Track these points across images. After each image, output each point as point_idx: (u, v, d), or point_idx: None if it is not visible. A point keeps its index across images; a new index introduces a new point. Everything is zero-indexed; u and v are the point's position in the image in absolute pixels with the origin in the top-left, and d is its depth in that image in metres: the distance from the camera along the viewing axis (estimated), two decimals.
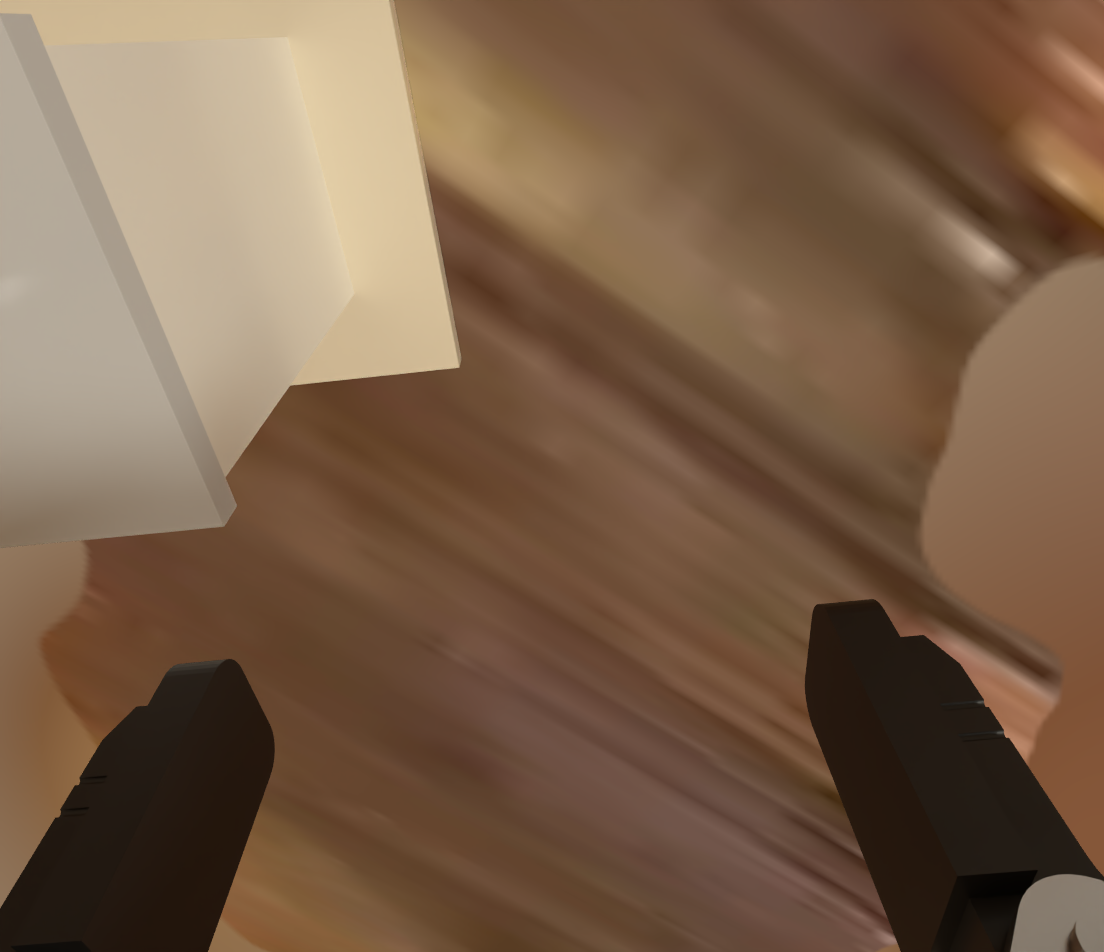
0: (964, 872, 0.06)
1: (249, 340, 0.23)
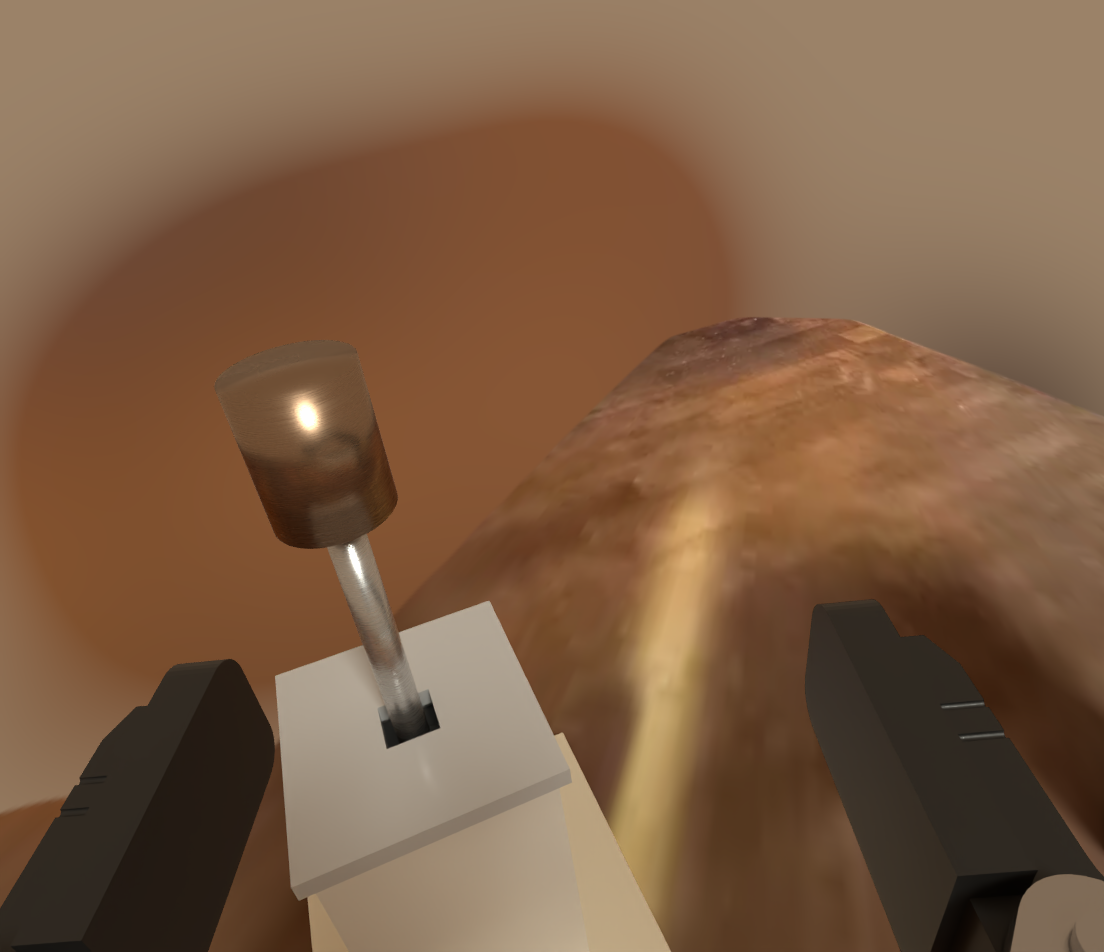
0: (964, 872, 0.06)
1: (400, 920, 0.33)
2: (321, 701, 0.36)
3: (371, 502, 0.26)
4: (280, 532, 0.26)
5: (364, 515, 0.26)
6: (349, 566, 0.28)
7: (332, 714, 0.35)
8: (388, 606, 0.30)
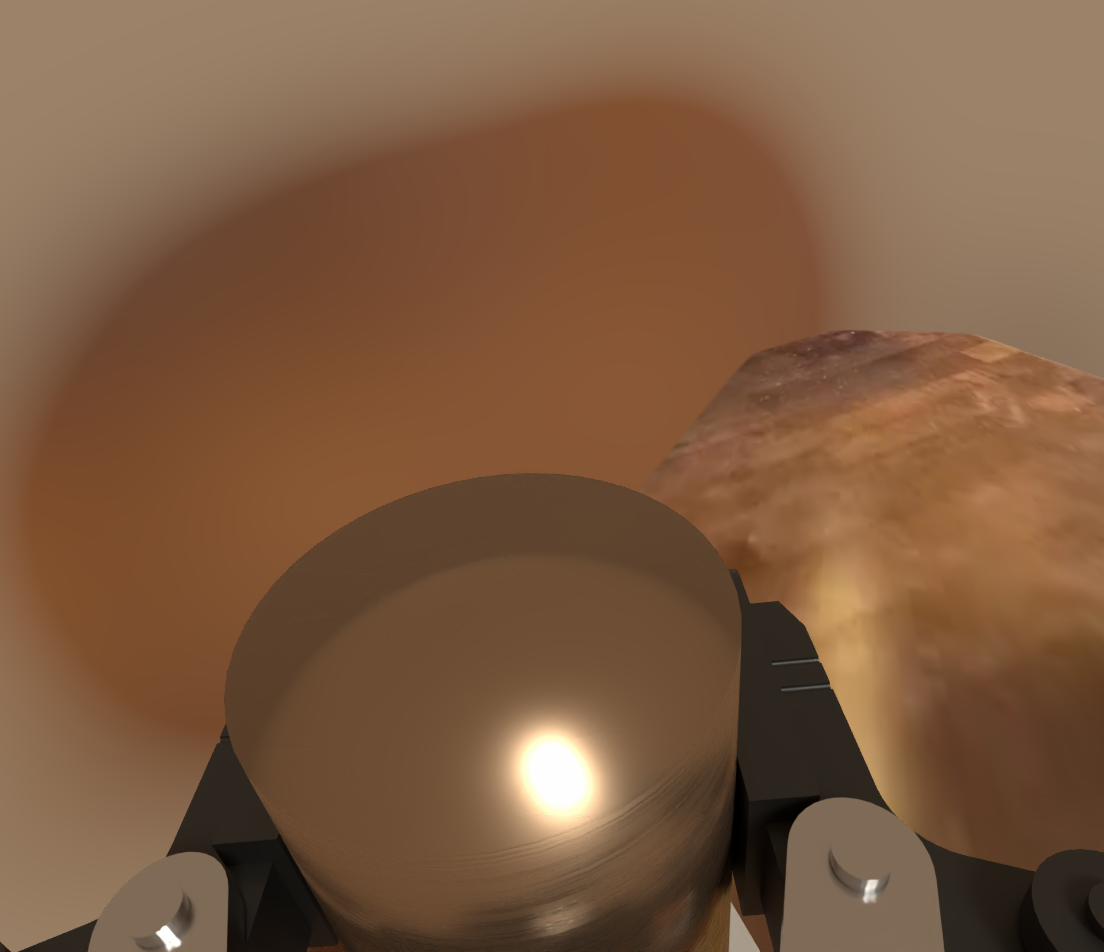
0: (757, 798, 0.07)
1: None
2: None
3: None
4: None
5: None
6: None
7: None
8: None
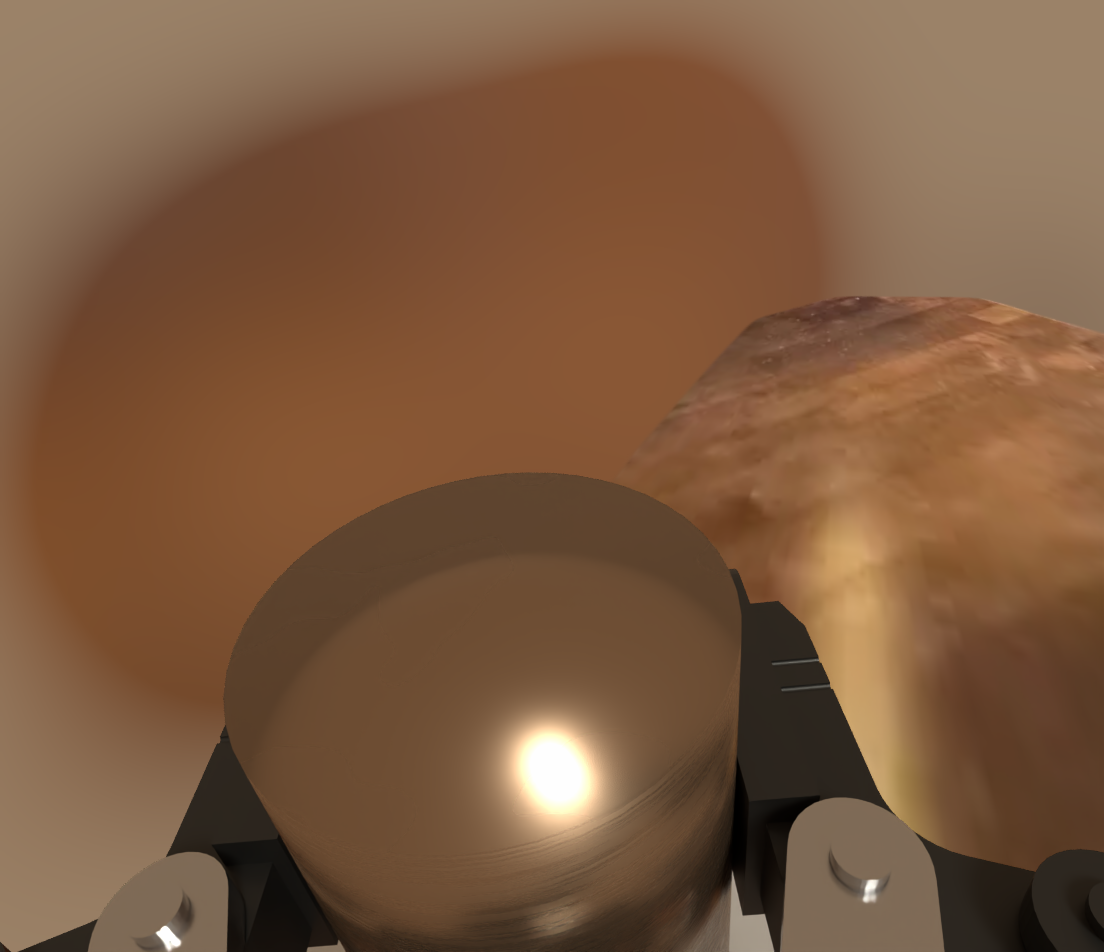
0: (757, 798, 0.07)
1: None
2: None
3: None
4: None
5: None
6: None
7: None
8: None
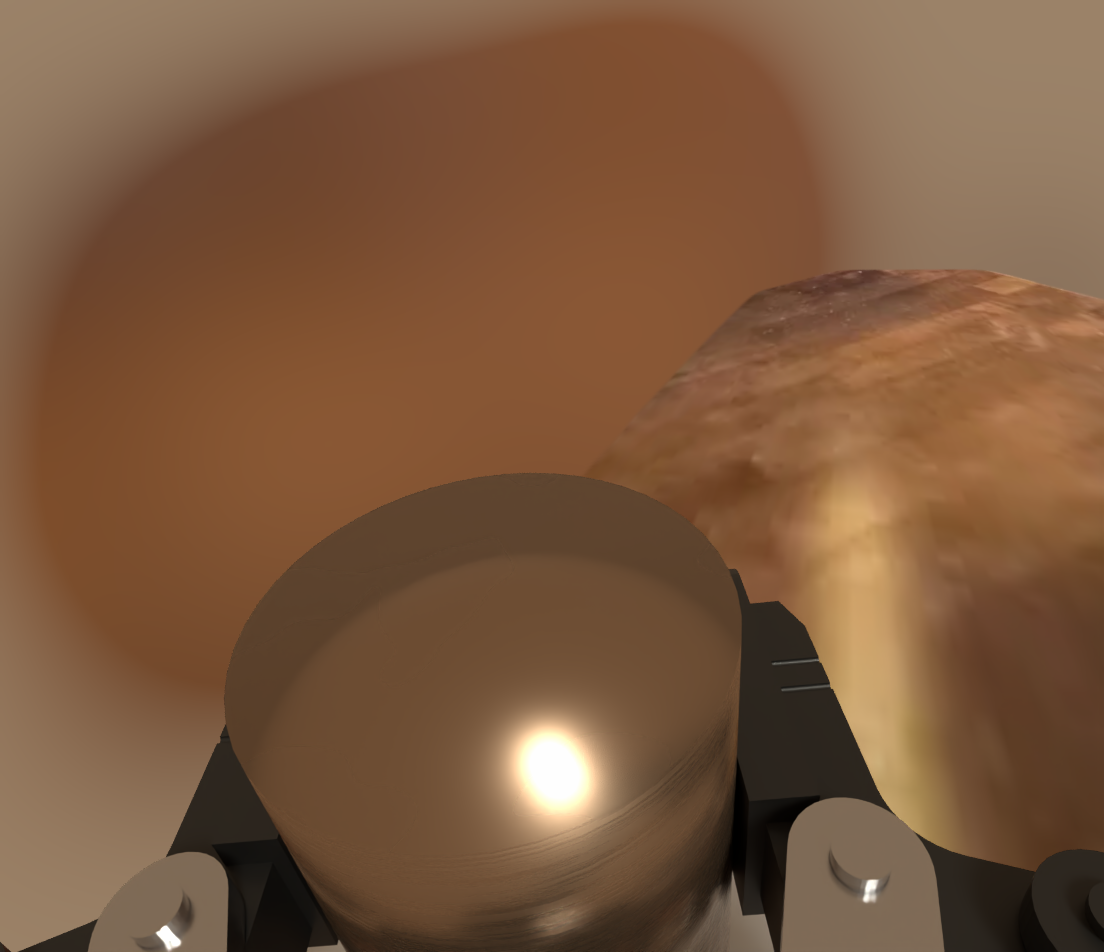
0: (757, 798, 0.07)
1: None
2: (326, 946, 0.13)
3: None
4: None
5: None
6: None
7: None
8: None
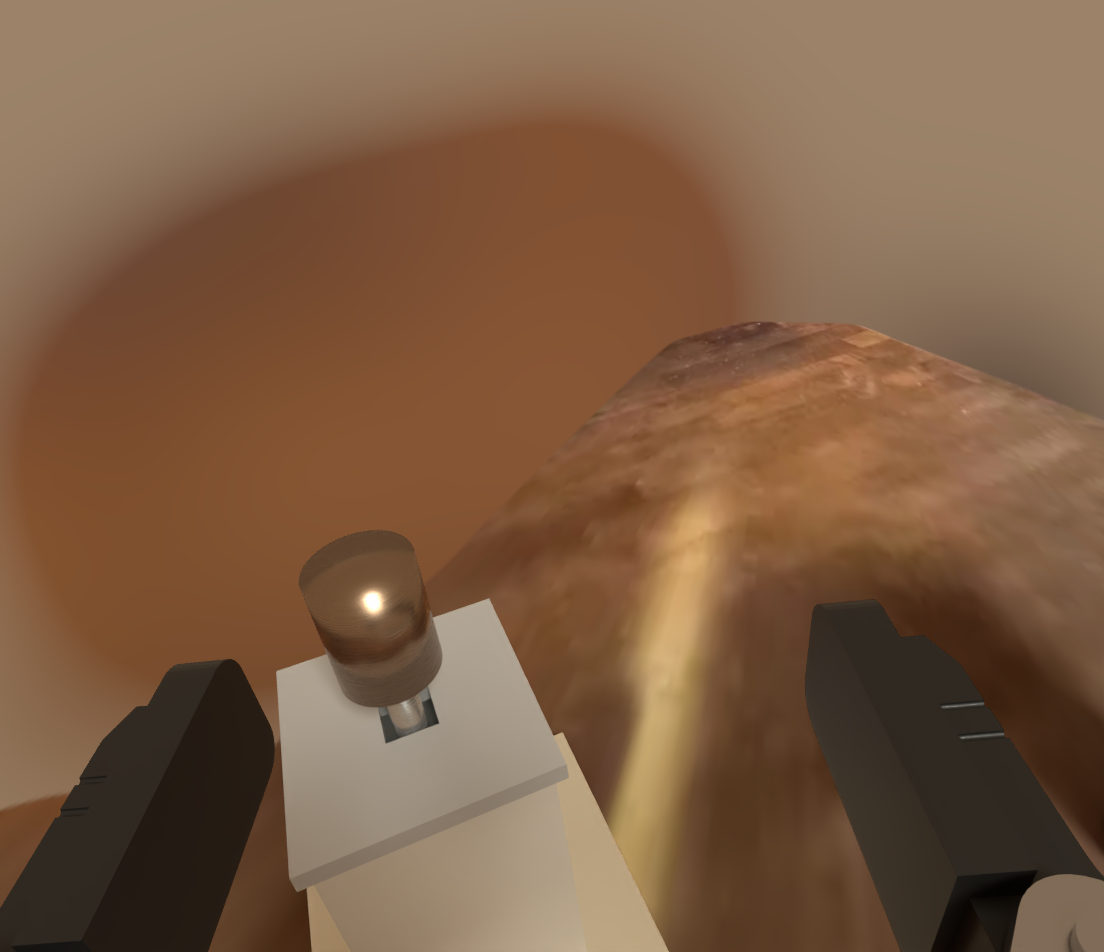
0: (964, 872, 0.06)
1: (398, 914, 0.33)
2: (321, 697, 0.36)
3: (423, 668, 0.31)
4: (347, 692, 0.31)
5: (417, 679, 0.31)
6: (401, 711, 0.33)
7: (332, 709, 0.35)
8: None
